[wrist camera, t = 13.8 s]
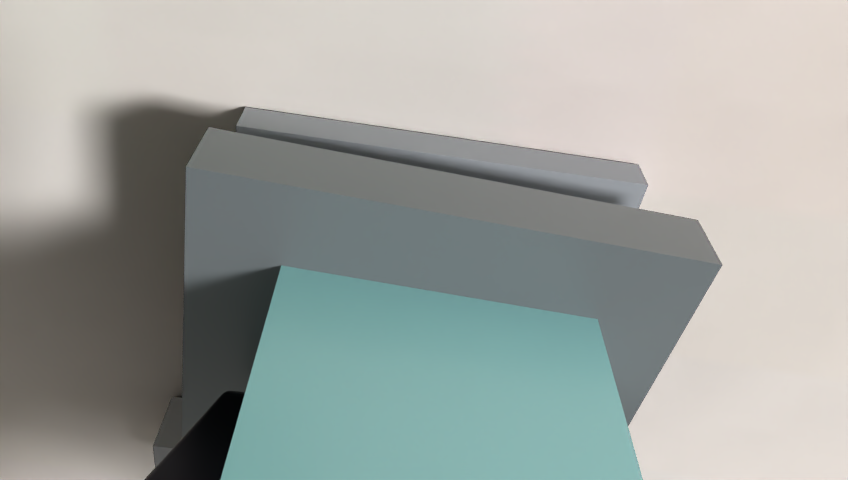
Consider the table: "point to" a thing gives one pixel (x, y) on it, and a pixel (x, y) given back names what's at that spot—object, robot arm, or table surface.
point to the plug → (422, 317)
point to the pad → (458, 156)
